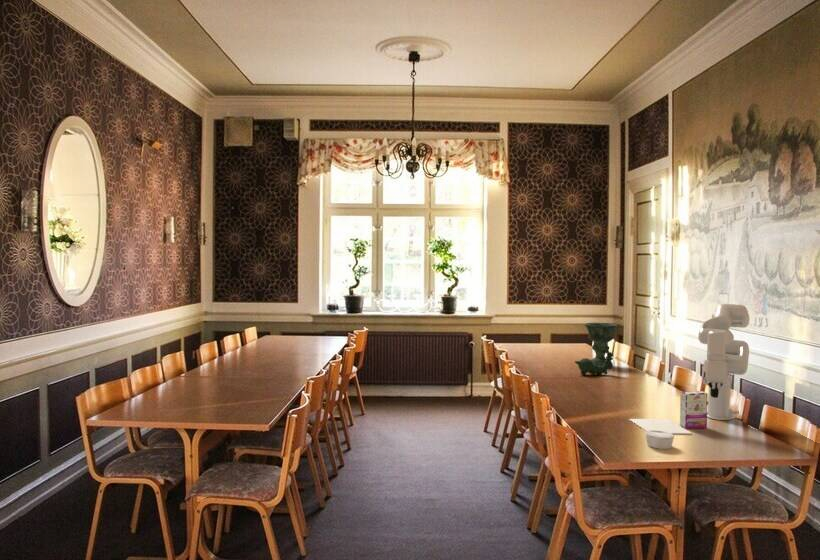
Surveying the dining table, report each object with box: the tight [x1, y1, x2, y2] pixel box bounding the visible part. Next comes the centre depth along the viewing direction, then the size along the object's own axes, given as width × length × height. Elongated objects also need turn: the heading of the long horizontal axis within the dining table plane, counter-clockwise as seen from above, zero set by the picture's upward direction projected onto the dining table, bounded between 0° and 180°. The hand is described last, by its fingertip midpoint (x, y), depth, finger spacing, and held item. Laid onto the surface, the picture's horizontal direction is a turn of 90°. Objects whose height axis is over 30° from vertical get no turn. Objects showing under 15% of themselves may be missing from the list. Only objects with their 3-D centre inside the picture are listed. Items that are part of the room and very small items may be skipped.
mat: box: [628, 418, 693, 435], centre depth 296 cm, size 19×24×1 cm
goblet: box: [584, 322, 619, 368], centre depth 457 cm, size 22×23×30 cm
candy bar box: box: [679, 390, 708, 430], centre depth 296 cm, size 11×5×16 cm, turn 101°
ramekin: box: [645, 430, 675, 450], centre depth 266 cm, size 11×11×5 cm
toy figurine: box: [574, 348, 614, 377], centre depth 422 cm, size 9×19×25 cm
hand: (714, 397), depth 296 cm, fingers closed
